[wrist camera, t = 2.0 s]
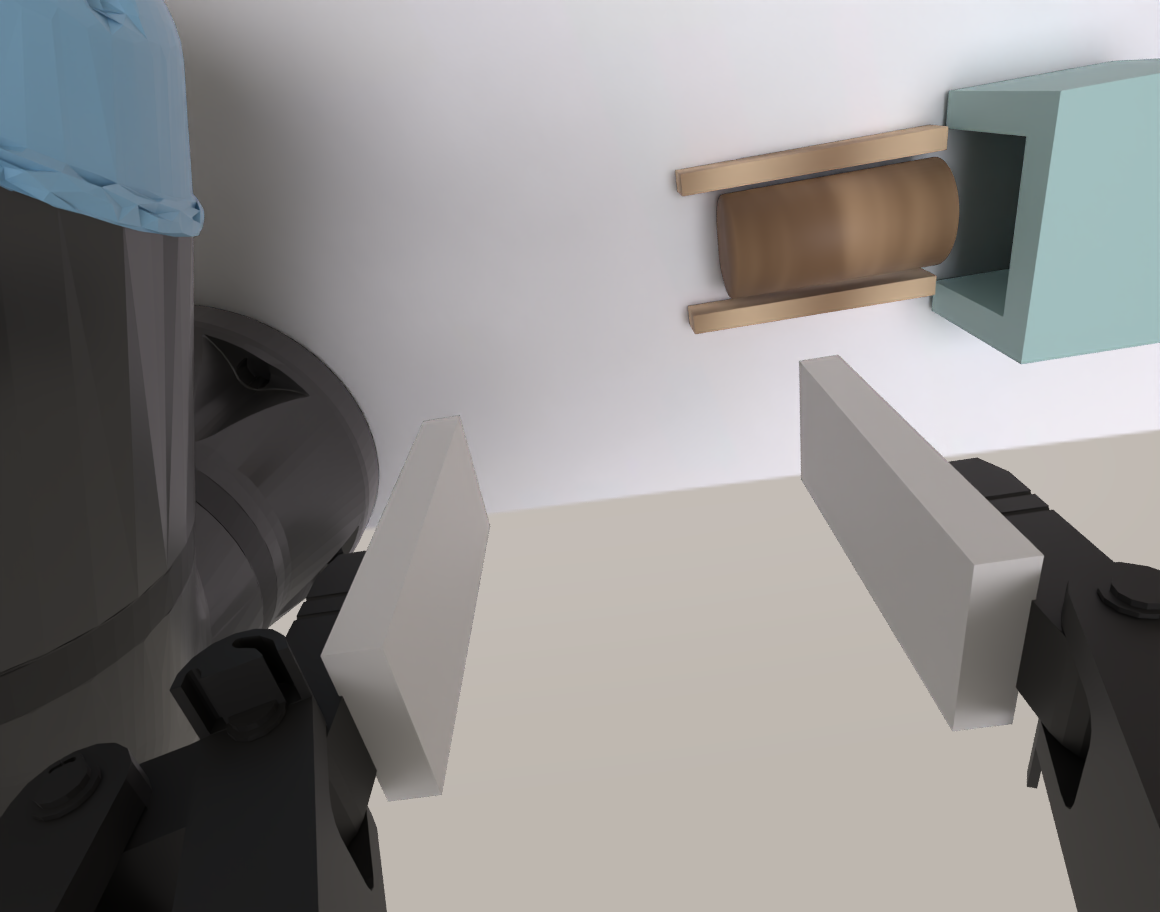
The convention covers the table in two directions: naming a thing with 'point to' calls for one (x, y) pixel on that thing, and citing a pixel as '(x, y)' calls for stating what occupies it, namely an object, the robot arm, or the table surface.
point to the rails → (804, 163)
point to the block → (1070, 214)
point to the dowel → (837, 227)
